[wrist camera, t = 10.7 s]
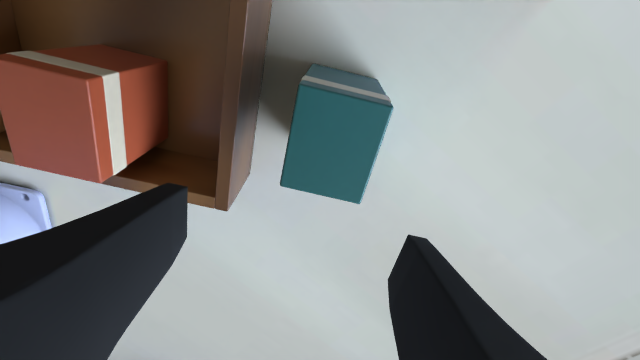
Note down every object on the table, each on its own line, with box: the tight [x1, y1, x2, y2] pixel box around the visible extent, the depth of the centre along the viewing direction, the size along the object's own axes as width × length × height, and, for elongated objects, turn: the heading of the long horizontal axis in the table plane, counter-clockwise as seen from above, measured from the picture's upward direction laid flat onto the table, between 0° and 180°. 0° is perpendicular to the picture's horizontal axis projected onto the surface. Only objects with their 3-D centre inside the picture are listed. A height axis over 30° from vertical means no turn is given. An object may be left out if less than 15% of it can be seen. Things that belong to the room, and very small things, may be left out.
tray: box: [0, 0, 272, 211], centre depth 13 cm, size 13×16×4 cm
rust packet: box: [0, 44, 168, 183], centre depth 14 cm, size 4×4×6 cm
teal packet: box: [280, 64, 393, 204], centre depth 15 cm, size 4×4×6 cm
